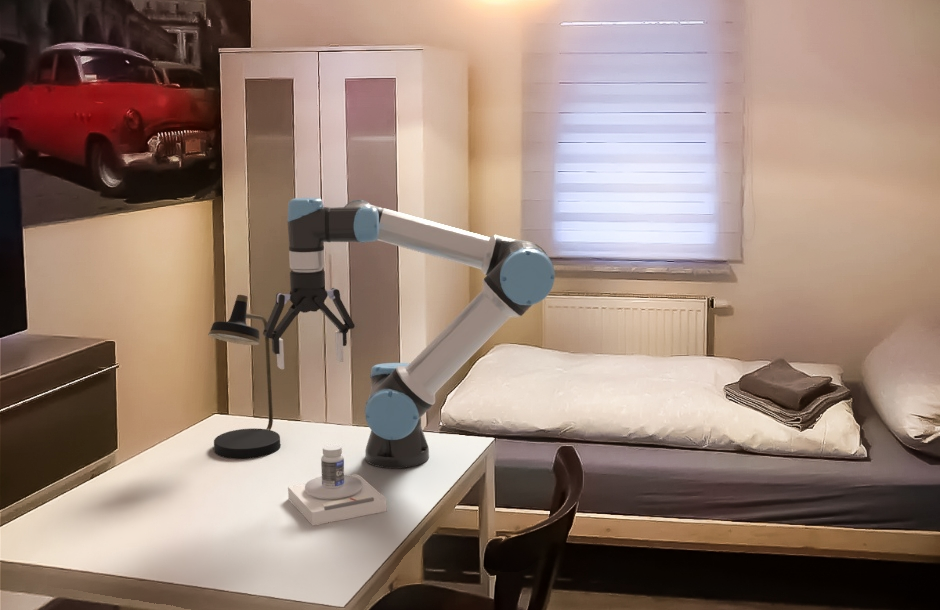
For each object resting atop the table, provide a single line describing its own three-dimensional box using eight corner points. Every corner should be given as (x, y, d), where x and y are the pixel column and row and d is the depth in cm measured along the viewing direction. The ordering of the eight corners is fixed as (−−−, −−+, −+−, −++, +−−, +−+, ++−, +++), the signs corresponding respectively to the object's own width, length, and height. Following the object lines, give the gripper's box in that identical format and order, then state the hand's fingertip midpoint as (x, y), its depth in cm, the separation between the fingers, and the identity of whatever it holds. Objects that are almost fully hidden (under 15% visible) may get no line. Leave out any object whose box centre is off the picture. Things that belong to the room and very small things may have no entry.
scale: (358, 486, 231) (357, 469, 230) (386, 511, 217) (385, 492, 216) (288, 499, 224) (287, 481, 223) (312, 525, 210) (312, 506, 209)
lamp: (198, 456, 250) (188, 299, 243) (244, 429, 271) (237, 283, 263) (257, 463, 245) (250, 303, 238) (300, 435, 266) (294, 287, 258)
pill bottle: (340, 489, 218) (339, 451, 216) (319, 488, 219) (317, 450, 217) (347, 481, 222) (346, 444, 221) (326, 480, 223) (325, 442, 222)
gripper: (354, 262, 235) (357, 353, 239) (246, 271, 224) (250, 367, 228) (367, 267, 228) (369, 361, 232) (255, 276, 217) (260, 375, 221)
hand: (310, 364), depth 230 cm, fingers open, 13 cm apart
